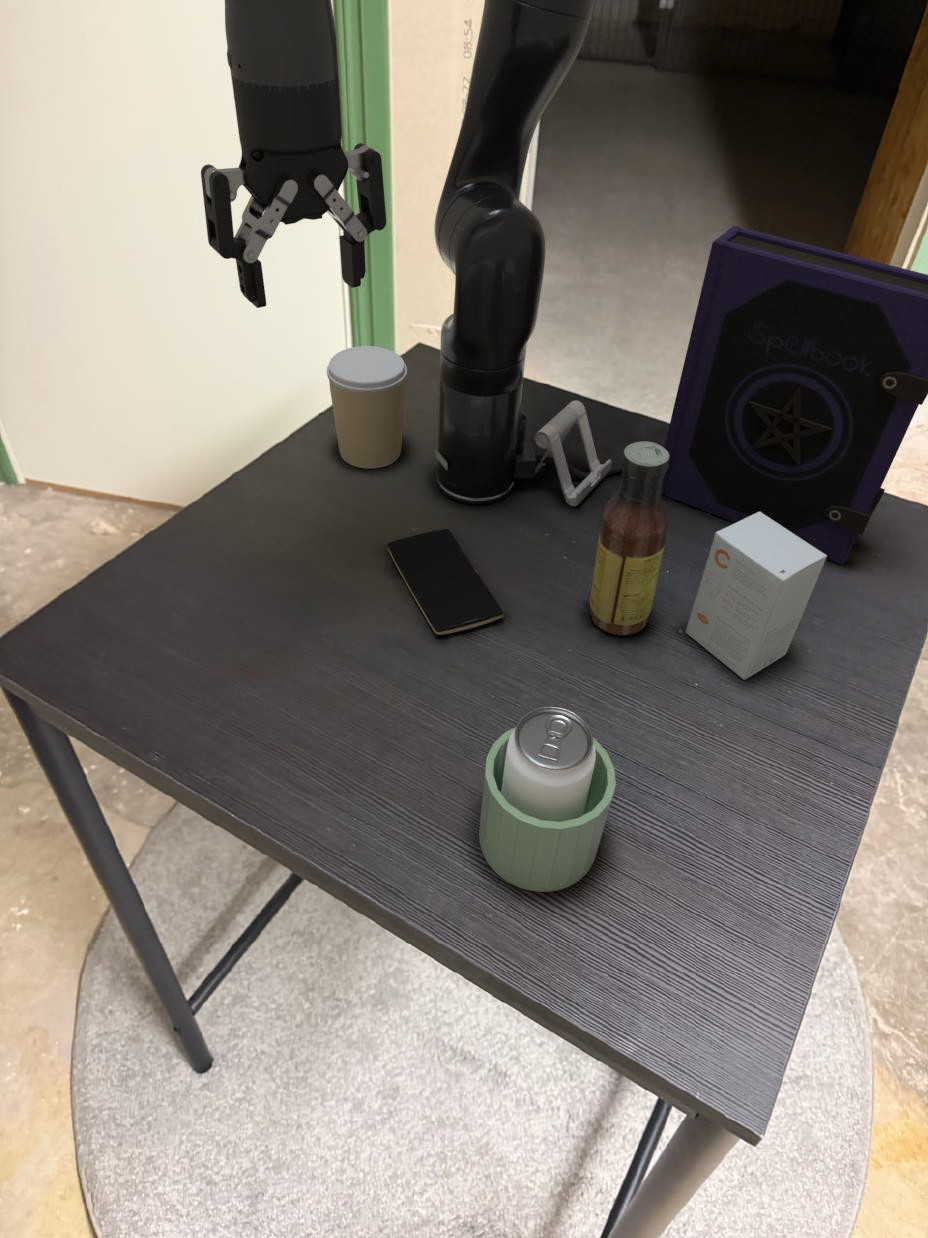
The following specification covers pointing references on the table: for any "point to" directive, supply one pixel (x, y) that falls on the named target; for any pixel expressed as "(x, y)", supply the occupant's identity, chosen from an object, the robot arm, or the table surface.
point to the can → (549, 765)
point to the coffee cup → (368, 404)
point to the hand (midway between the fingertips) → (306, 293)
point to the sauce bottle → (631, 543)
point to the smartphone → (444, 582)
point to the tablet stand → (552, 440)
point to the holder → (542, 829)
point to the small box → (753, 593)
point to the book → (797, 386)
